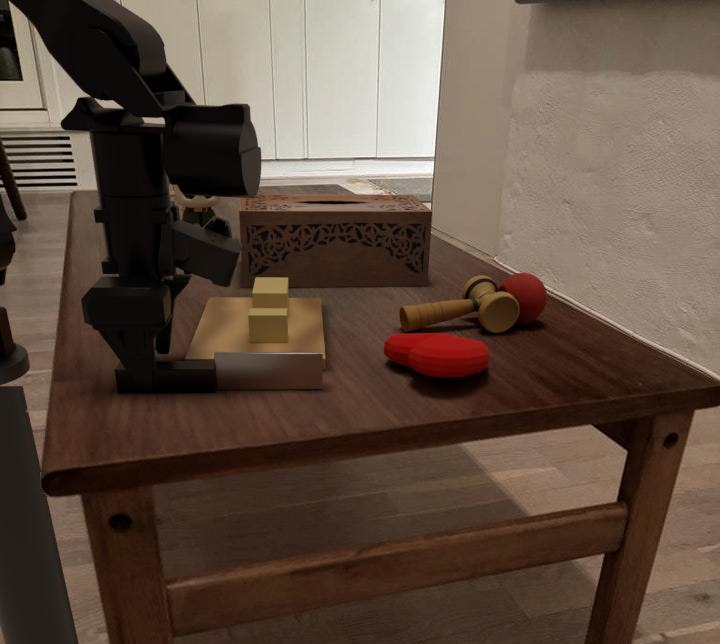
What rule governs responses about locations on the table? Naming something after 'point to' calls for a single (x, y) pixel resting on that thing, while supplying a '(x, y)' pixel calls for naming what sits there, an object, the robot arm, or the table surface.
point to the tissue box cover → (335, 239)
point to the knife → (231, 373)
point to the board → (231, 329)
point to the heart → (438, 354)
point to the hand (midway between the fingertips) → (155, 370)
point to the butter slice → (268, 325)
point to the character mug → (195, 207)
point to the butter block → (270, 292)
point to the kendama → (484, 304)
